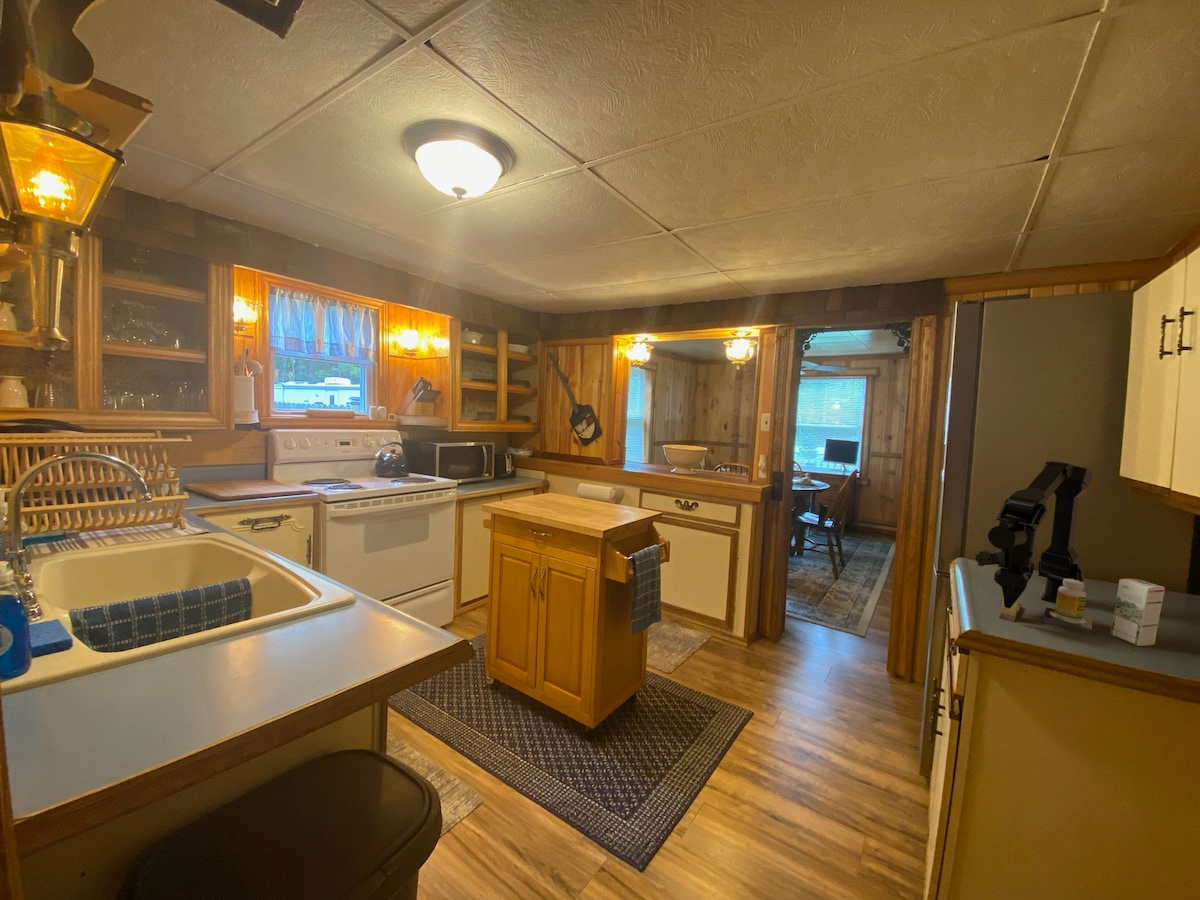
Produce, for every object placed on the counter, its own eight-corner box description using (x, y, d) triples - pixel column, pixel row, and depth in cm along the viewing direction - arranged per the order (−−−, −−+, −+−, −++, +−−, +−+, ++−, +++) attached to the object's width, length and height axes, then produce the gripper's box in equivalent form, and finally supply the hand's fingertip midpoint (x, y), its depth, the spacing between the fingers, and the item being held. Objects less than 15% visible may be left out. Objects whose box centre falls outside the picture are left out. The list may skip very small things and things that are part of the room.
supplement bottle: (1057, 611, 134) (1063, 576, 133) (1085, 619, 129) (1091, 583, 128) (1050, 615, 131) (1056, 579, 130) (1078, 623, 126) (1084, 586, 125)
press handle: (1002, 609, 134) (1004, 591, 133) (1016, 613, 132) (1019, 595, 131) (1000, 612, 132) (1003, 594, 131) (1015, 616, 129) (1018, 598, 129)
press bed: (1045, 612, 137) (1046, 606, 136) (1091, 624, 130) (1092, 618, 130) (1042, 621, 130) (1043, 615, 130) (1090, 634, 124) (1091, 628, 124)
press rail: (1007, 603, 141) (1007, 600, 141) (1020, 607, 139) (1021, 604, 139) (999, 617, 131) (1000, 614, 131) (1014, 621, 129) (1014, 618, 129)
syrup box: (1155, 645, 120) (1167, 586, 119) (1137, 646, 119) (1148, 587, 117) (1126, 633, 126) (1136, 577, 124) (1108, 635, 125) (1118, 578, 123)
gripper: (986, 531, 142) (978, 585, 143) (973, 543, 128) (965, 602, 130) (1038, 541, 134) (1029, 598, 136) (1030, 554, 121) (1020, 617, 122)
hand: (1010, 603), depth 131 cm, fingers open, 9 cm apart
